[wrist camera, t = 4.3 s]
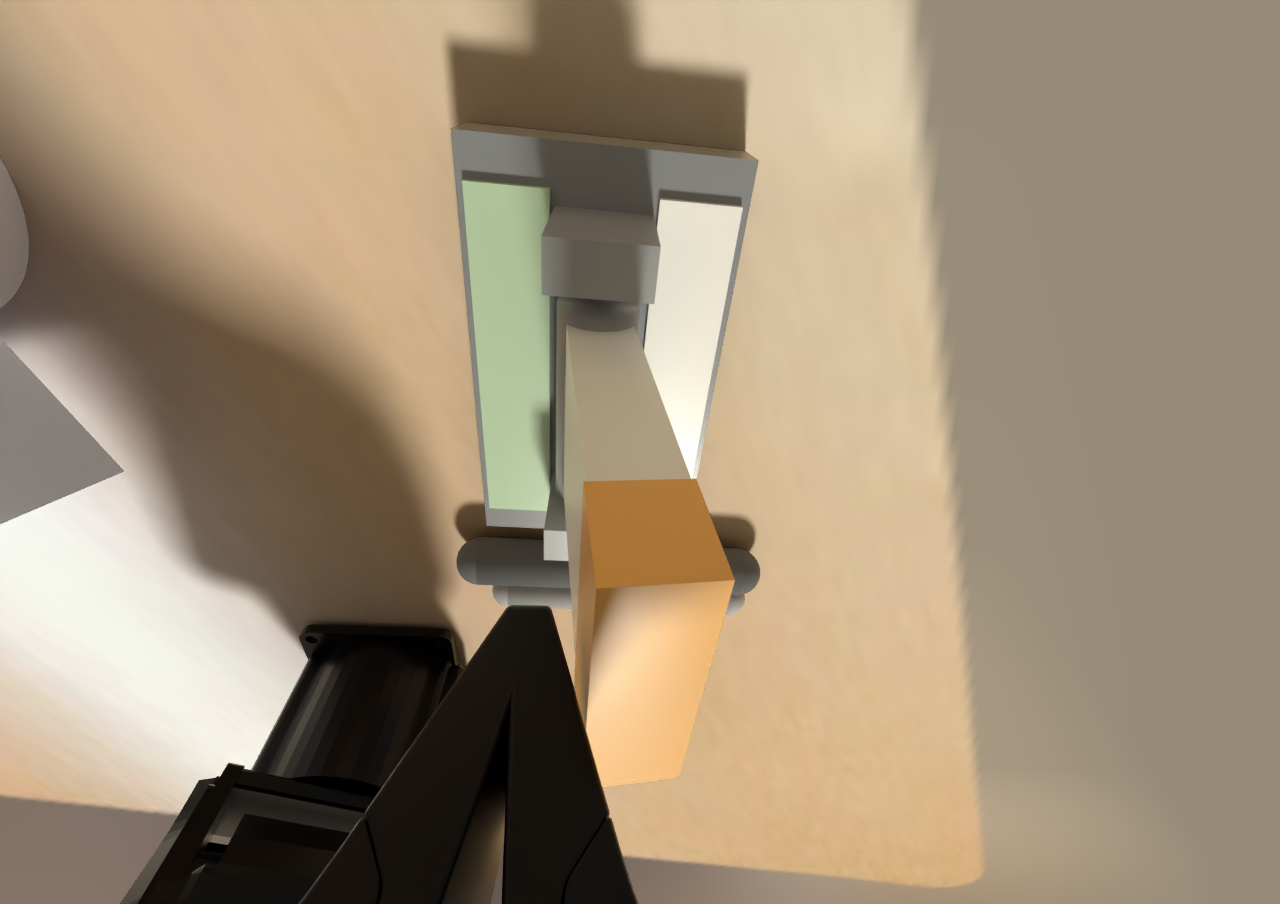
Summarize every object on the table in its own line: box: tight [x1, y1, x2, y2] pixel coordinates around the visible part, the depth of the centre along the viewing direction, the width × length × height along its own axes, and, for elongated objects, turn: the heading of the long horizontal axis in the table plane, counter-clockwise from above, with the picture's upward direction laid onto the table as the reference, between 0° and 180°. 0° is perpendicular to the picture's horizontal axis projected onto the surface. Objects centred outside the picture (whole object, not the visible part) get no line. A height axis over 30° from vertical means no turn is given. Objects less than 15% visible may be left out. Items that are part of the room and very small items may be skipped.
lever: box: [556, 297, 735, 787], centre depth 12 cm, size 2×6×10 cm, turn 174°
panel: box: [451, 122, 758, 561], centre depth 15 cm, size 7×12×4 cm, turn 175°
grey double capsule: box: [457, 537, 760, 615], centre depth 22 cm, size 12×3×2 cm, turn 85°
